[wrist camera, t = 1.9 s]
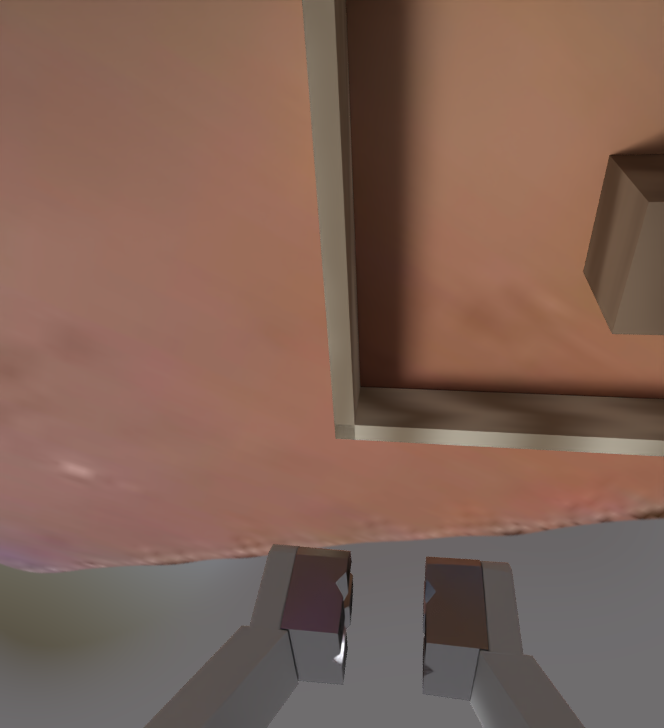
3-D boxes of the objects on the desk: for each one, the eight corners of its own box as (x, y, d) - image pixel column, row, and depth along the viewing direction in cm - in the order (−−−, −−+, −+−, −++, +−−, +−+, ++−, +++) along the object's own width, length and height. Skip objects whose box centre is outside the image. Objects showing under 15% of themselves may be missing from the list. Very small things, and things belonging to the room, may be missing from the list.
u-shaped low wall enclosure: (342, 400, 31) (335, 438, 29) (312, -88, 18) (294, -91, 16) (729, 417, 28) (756, 461, 26) (1002, -145, 16) (1104, -160, 13)
